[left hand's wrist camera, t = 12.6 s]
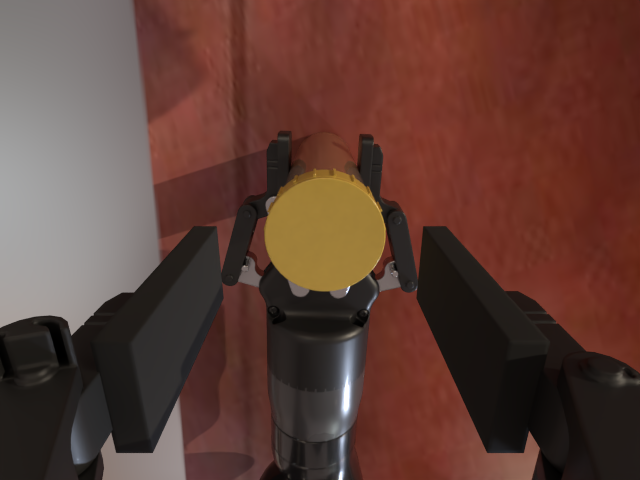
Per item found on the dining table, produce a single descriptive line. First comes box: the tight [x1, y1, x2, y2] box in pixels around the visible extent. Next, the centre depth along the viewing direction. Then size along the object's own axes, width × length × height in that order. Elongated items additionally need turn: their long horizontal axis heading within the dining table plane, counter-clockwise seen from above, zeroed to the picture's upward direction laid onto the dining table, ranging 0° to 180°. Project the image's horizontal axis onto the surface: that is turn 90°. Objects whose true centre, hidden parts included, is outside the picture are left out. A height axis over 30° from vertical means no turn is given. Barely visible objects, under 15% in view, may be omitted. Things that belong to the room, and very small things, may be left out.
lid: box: [264, 168, 386, 291], centre depth 17 cm, size 5×5×2 cm
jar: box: [284, 132, 365, 186], centre depth 24 cm, size 4×4×17 cm
